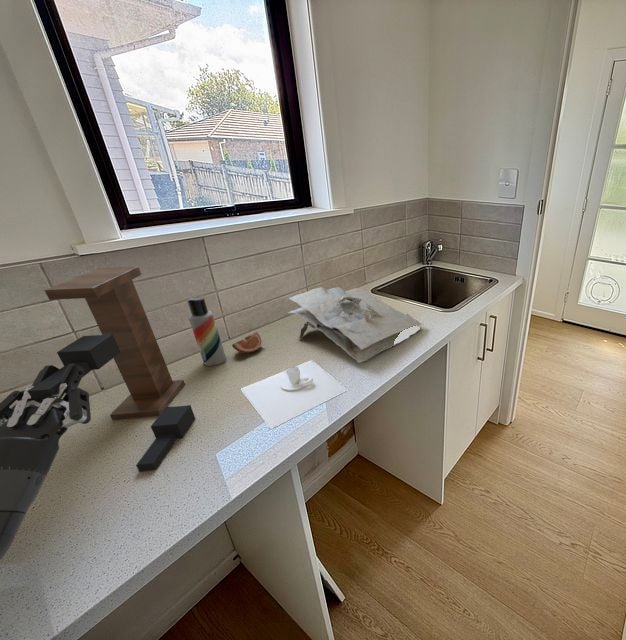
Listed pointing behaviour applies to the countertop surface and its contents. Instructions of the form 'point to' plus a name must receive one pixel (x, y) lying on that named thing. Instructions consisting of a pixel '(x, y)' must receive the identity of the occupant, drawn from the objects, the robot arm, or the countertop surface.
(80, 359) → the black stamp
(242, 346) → the fruit slice
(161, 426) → the black angular piece
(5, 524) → the robot arm
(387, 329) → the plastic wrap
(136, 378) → the walnut stand
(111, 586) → the countertop surface
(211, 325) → the lotion bottle
